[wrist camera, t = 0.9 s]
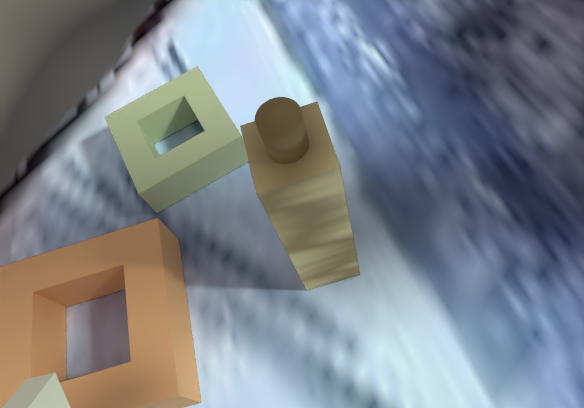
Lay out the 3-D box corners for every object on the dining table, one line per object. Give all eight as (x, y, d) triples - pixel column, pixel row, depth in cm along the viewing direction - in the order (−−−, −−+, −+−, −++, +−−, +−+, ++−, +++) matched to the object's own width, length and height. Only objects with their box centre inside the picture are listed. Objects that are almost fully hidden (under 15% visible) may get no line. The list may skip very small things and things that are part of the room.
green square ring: (210, 91, 40) (197, 66, 38) (252, 159, 36) (241, 135, 34) (123, 139, 39) (104, 116, 37) (157, 213, 36) (138, 193, 33)
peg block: (344, 226, 32) (310, 69, 19) (359, 274, 31) (334, 138, 18) (293, 241, 33) (226, 96, 20) (306, 290, 31) (242, 166, 18)
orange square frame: (178, 239, 34) (157, 217, 31) (201, 402, 29) (178, 395, 26) (32, 284, 35) (-3, 267, 32) (28, 452, 29) (-15, 451, 26)
